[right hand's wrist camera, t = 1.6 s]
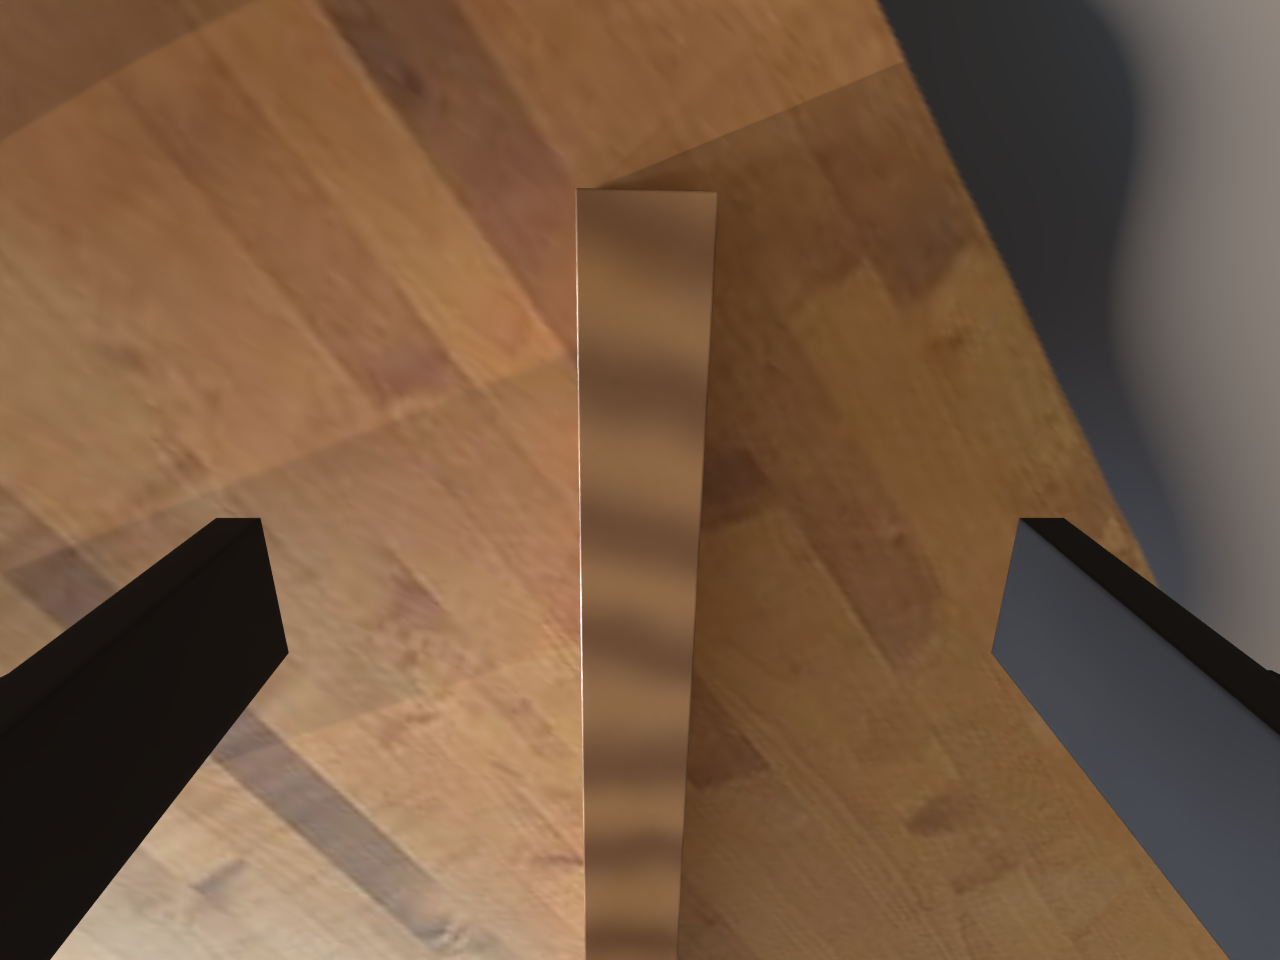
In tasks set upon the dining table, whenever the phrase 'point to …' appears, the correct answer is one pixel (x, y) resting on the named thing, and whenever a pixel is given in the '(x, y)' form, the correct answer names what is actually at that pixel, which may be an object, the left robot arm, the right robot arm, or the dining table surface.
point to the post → (639, 546)
